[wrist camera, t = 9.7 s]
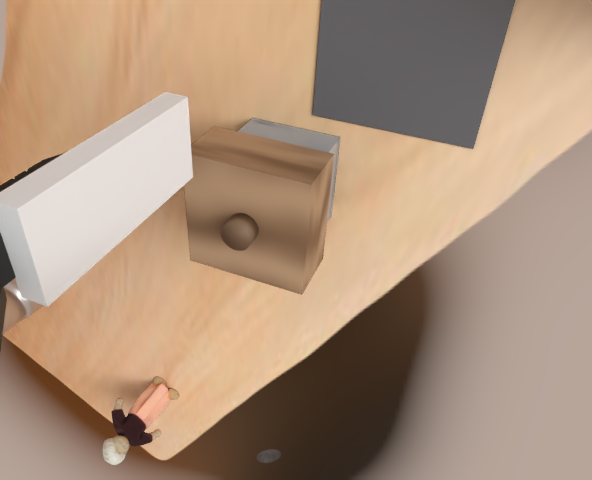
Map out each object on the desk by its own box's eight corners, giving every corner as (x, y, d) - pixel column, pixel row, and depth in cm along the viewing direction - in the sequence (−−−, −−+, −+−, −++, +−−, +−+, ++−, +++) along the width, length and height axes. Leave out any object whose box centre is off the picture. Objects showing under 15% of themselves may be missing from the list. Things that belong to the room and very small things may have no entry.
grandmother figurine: (188, 395, 75) (135, 474, 65) (179, 406, 78) (127, 483, 68) (145, 363, 75) (85, 437, 65) (137, 375, 77) (78, 448, 68)
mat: (327, -67, 36) (326, -66, 36) (527, -44, 33) (527, -43, 32) (313, 114, 44) (312, 114, 44) (473, 147, 40) (473, 148, 40)
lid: (214, 126, 42) (170, 161, 37) (334, 153, 39) (303, 195, 34) (218, 228, 48) (180, 270, 43) (322, 258, 45) (295, 306, 40)
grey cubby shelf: (253, 117, 46) (226, 140, 42) (340, 137, 44) (320, 162, 40) (252, 195, 51) (228, 222, 47) (331, 216, 49) (312, 246, 45)
